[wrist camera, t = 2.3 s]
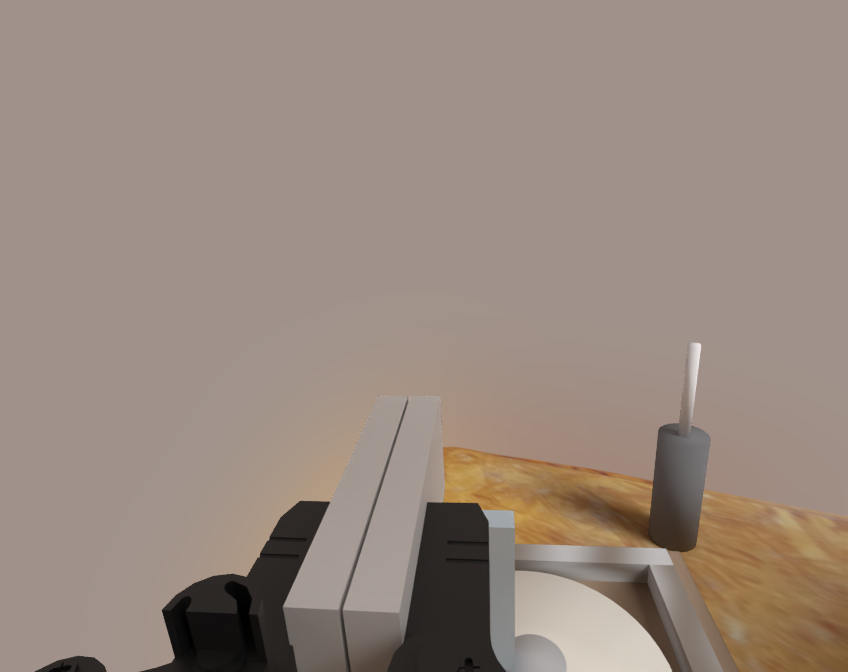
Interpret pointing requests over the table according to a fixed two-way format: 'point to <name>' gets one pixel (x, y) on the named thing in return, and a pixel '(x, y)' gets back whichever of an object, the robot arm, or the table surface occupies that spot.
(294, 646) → the robot arm
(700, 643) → the dial housing
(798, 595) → the table surface
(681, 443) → the screwdriver
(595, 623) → the dial
